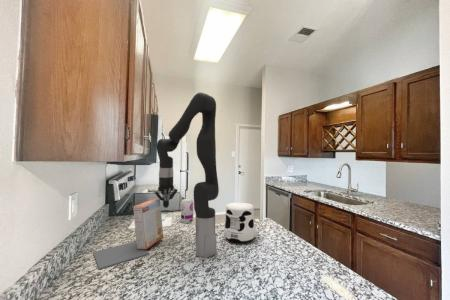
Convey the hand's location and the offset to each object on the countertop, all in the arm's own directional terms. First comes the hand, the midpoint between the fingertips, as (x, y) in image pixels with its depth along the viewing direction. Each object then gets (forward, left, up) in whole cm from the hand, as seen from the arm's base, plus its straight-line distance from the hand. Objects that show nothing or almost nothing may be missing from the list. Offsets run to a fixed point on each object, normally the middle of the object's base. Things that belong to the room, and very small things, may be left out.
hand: (165, 207), depth 112 cm
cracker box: (-2, +9, -17) cm, 19 cm away
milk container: (-24, -32, -18) cm, 44 cm away
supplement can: (+19, -23, -18) cm, 35 cm away
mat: (-2, +23, -17) cm, 29 cm away
